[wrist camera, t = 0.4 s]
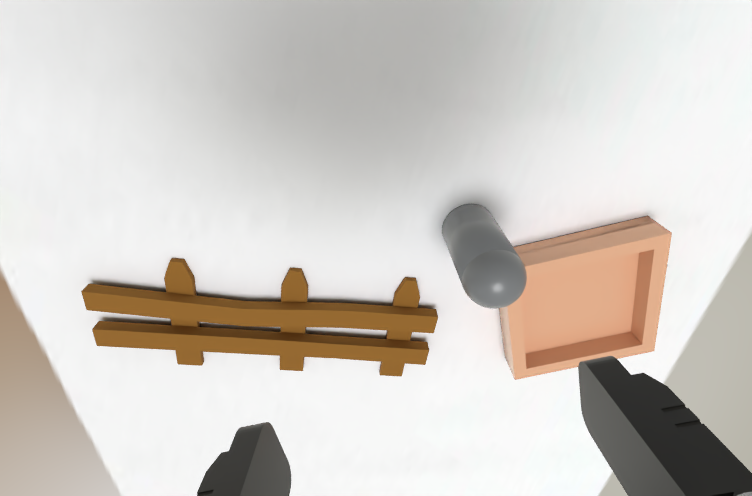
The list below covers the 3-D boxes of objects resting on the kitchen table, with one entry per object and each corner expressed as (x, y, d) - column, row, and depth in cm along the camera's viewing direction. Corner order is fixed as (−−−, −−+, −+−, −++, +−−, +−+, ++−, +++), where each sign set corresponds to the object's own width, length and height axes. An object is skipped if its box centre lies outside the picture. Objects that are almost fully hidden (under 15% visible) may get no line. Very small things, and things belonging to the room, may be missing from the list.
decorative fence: (416, 368, 36) (440, 275, 31) (419, 386, 34) (445, 291, 29) (116, 351, 33) (89, 246, 28) (103, 369, 32) (72, 261, 27)
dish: (492, 252, 30) (503, 271, 27) (647, 215, 29) (671, 232, 26) (504, 356, 35) (514, 379, 33) (635, 329, 34) (654, 351, 32)
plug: (438, 211, 28) (465, 277, 21) (490, 198, 27) (535, 260, 21) (446, 254, 29) (474, 327, 23) (495, 243, 29) (538, 313, 22)
